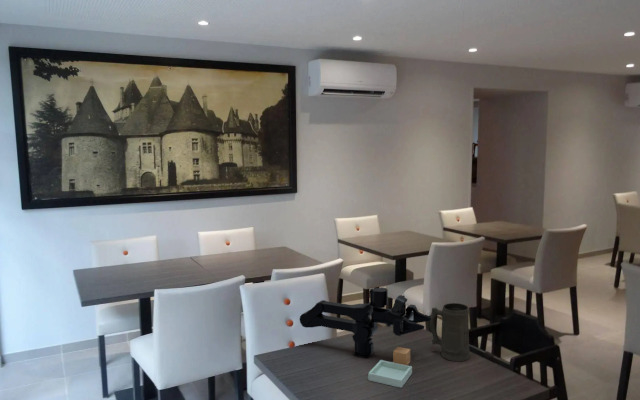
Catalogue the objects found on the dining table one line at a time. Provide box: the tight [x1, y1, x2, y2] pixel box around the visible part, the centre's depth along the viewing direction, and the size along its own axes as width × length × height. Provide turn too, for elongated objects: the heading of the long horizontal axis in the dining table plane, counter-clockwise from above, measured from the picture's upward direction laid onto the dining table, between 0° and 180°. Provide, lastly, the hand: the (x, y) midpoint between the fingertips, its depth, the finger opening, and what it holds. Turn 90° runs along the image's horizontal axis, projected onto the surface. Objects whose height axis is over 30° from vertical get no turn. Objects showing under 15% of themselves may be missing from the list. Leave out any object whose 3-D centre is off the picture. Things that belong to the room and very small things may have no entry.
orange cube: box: [392, 346, 411, 366], centre depth 179 cm, size 5×5×5 cm
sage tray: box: [367, 359, 413, 389], centre depth 168 cm, size 12×12×2 cm
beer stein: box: [428, 302, 471, 362], centre depth 185 cm, size 15×11×20 cm
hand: (427, 323), depth 174 cm, fingers open, 9 cm apart
